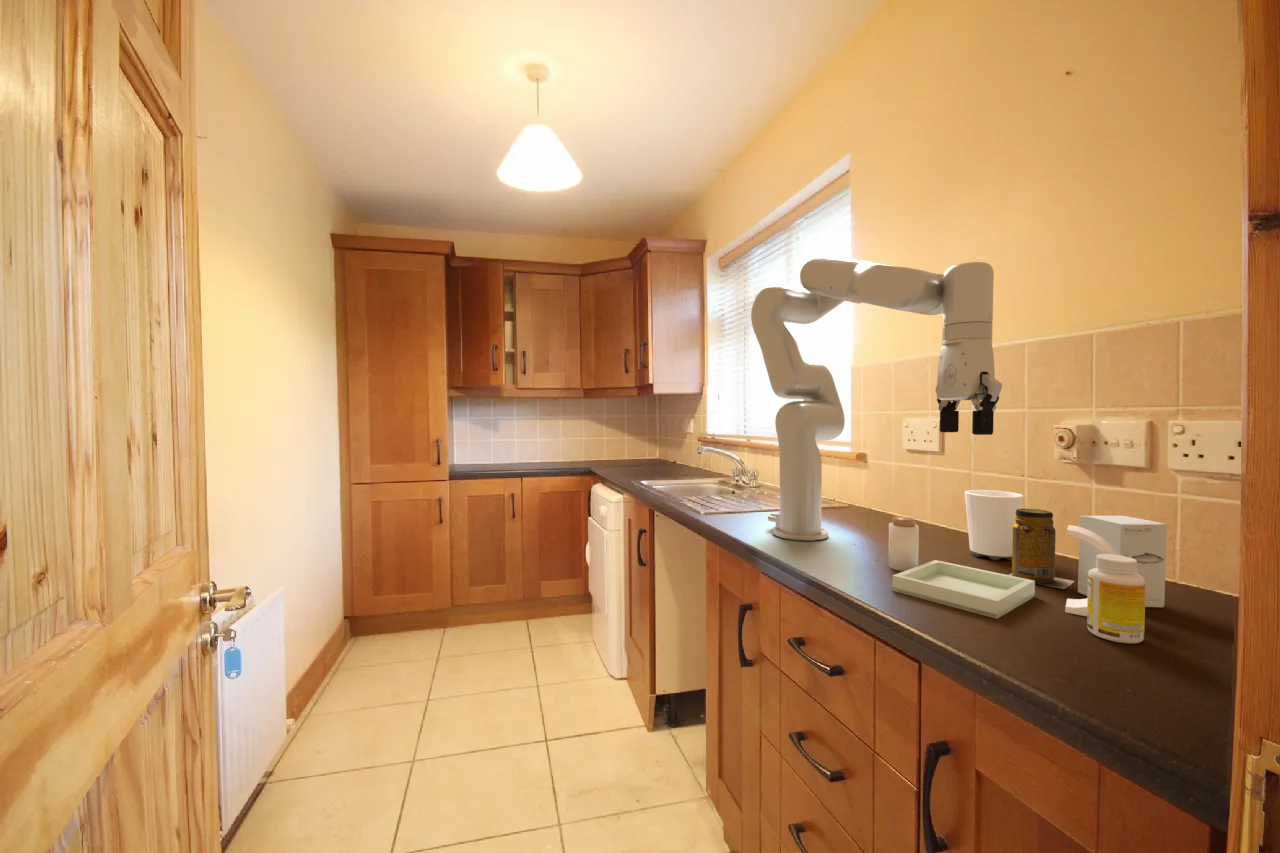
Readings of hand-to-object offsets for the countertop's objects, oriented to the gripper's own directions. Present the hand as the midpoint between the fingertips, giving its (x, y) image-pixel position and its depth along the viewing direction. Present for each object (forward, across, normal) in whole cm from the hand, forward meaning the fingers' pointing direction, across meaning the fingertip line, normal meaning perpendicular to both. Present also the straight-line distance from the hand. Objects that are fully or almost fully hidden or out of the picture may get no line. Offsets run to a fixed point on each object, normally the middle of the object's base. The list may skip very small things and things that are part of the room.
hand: (964, 433), depth 95 cm
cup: (+26, -12, +14) cm, 31 cm away
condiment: (+26, +3, +12) cm, 28 cm away
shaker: (+25, -5, -8) cm, 27 cm away
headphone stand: (+25, +18, +8) cm, 32 cm away
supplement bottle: (+25, +26, +4) cm, 37 cm away
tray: (+25, +10, -6) cm, 28 cm away
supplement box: (+25, +13, +17) cm, 33 cm away
